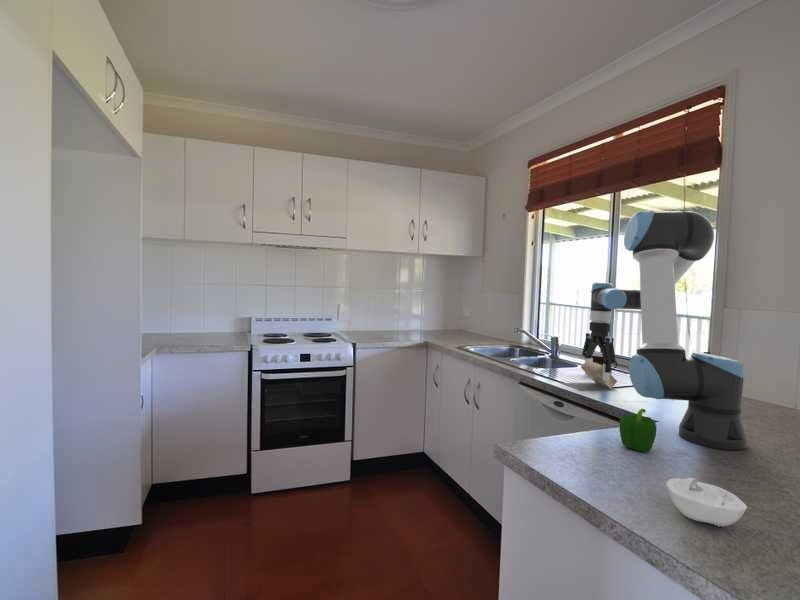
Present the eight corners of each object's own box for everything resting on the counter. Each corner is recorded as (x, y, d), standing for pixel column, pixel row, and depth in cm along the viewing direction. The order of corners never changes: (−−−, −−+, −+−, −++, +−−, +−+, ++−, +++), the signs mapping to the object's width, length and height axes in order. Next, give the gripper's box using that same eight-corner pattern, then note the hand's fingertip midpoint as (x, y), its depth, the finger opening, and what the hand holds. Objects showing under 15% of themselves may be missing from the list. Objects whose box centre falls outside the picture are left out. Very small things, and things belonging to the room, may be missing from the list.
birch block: (601, 375, 178) (586, 360, 176) (617, 381, 170) (601, 364, 168) (595, 382, 178) (580, 367, 176) (610, 389, 169) (595, 372, 167)
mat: (596, 383, 180) (596, 382, 180) (616, 391, 168) (616, 390, 168) (561, 384, 177) (561, 383, 177) (579, 392, 165) (579, 390, 165)
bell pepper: (636, 456, 105) (639, 416, 105) (611, 443, 113) (613, 405, 113) (664, 453, 108) (666, 414, 107) (637, 441, 116) (640, 404, 115)
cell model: (732, 546, 70) (735, 505, 70) (653, 512, 80) (656, 476, 80) (753, 527, 76) (756, 489, 76) (677, 497, 86) (680, 464, 85)
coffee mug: (581, 375, 195) (583, 353, 194) (595, 374, 198) (596, 352, 198) (603, 381, 184) (605, 358, 184) (617, 380, 188) (619, 357, 187)
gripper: (628, 325, 162) (625, 384, 163) (590, 318, 184) (587, 370, 185) (611, 324, 160) (607, 384, 161) (574, 318, 182) (571, 371, 183)
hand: (596, 377), depth 173 cm, fingers open, 10 cm apart
